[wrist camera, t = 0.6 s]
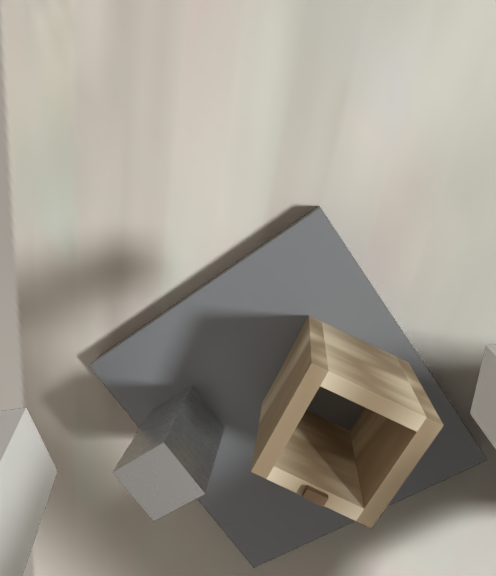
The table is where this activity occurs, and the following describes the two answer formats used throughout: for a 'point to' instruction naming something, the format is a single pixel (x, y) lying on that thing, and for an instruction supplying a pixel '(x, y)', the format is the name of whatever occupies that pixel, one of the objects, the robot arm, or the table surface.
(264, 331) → the base board
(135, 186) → the table surface
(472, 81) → the table surface
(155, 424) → the steel block
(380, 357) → the hollow wooden cube frame
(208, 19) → the table surface
